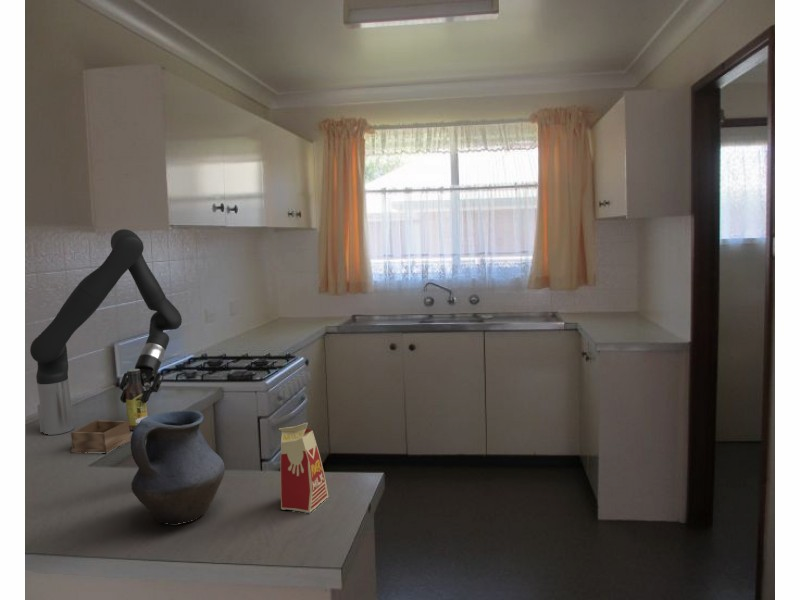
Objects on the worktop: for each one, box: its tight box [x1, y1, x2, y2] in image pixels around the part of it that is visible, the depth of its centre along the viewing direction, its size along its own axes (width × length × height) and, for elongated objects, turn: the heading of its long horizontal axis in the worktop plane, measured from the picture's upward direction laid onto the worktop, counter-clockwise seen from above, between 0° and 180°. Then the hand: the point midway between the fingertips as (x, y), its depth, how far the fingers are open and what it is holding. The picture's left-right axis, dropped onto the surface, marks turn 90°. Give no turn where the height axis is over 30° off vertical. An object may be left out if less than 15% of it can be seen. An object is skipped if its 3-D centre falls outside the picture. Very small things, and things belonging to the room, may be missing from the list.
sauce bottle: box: [125, 368, 148, 431], centre depth 217 cm, size 6×6×20 cm
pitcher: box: [130, 409, 226, 524], centre depth 149 cm, size 21×22×25 cm
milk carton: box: [278, 422, 330, 512], centre depth 153 cm, size 9×9×20 cm
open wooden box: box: [70, 419, 132, 454], centre depth 202 cm, size 12×12×6 cm
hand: (133, 401), depth 216 cm, fingers open, 7 cm apart
